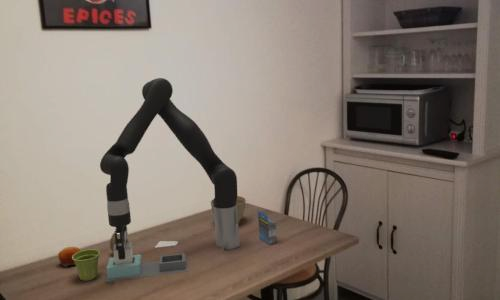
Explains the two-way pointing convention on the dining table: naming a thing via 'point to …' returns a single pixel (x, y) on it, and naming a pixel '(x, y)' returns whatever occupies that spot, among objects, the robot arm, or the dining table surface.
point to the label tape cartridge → (266, 229)
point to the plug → (128, 254)
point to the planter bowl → (240, 207)
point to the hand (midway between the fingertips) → (123, 254)
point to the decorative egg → (114, 241)
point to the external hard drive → (166, 243)
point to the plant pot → (87, 263)
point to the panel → (146, 267)
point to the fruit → (67, 255)
